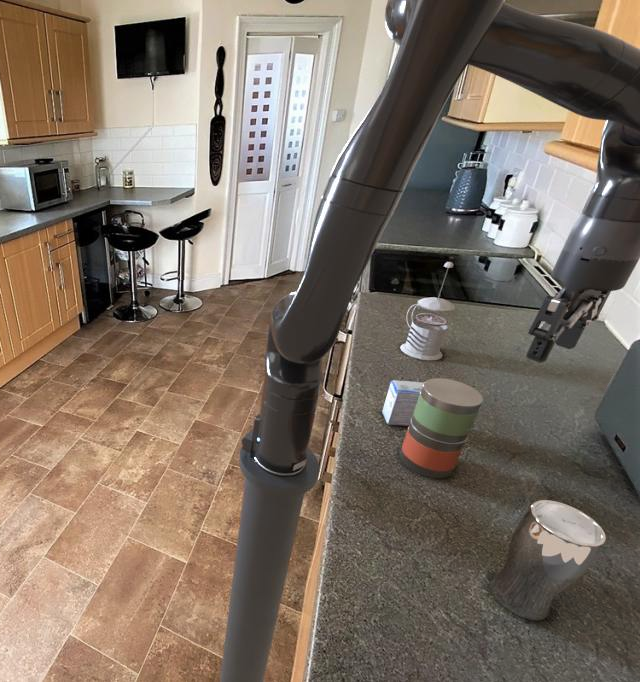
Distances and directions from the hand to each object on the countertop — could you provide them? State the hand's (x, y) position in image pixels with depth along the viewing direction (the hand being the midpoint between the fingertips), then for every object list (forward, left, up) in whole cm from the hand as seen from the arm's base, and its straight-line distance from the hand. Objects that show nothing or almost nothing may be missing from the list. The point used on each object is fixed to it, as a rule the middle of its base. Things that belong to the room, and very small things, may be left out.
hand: (549, 353), depth 66 cm
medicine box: (-15, +6, -25) cm, 30 cm away
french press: (-20, +42, -25) cm, 53 cm away
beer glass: (+6, -26, -25) cm, 36 cm away
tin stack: (-9, -5, -25) cm, 27 cm away
